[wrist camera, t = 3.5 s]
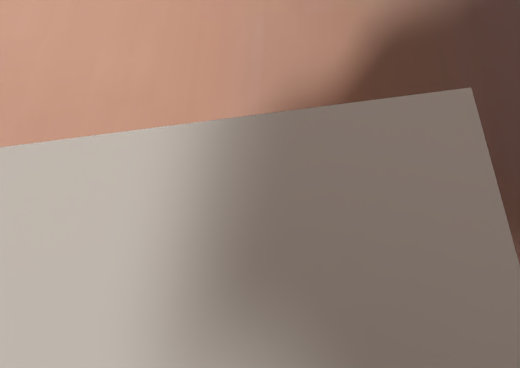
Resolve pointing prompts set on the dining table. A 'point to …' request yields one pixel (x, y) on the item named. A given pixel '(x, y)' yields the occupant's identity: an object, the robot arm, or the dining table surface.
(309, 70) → the dining table surface
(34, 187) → the cream block
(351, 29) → the dining table surface
